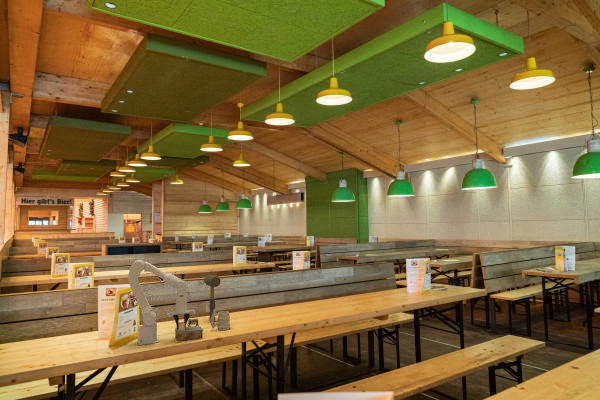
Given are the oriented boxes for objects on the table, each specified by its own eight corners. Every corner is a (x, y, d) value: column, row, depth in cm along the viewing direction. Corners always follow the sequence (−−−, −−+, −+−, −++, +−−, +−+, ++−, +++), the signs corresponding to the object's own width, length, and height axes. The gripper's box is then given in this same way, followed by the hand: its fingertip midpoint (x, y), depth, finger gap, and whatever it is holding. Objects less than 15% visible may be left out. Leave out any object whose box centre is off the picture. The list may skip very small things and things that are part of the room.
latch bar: (191, 324, 219) (191, 322, 219) (188, 321, 228) (188, 319, 228) (196, 324, 220) (196, 322, 220) (193, 320, 229) (193, 318, 229)
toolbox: (177, 341, 203) (177, 327, 204) (173, 334, 218) (173, 321, 218) (202, 338, 209) (202, 324, 210) (197, 331, 223) (197, 318, 224)
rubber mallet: (203, 320, 251) (203, 274, 254) (214, 319, 255) (214, 273, 258) (210, 324, 241) (210, 276, 243) (221, 322, 245) (221, 275, 248)
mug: (231, 329, 227) (231, 308, 228) (212, 332, 222) (212, 311, 223) (228, 326, 234) (228, 306, 235) (209, 329, 229) (209, 308, 230)
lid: (177, 334, 204) (177, 325, 204) (175, 330, 213) (175, 321, 213) (202, 331, 209) (202, 322, 210) (198, 327, 218) (199, 319, 219)
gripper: (168, 305, 204) (168, 331, 203) (196, 303, 210) (196, 328, 209) (166, 303, 210) (166, 328, 209) (193, 301, 216) (193, 325, 215)
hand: (181, 328), depth 209 cm, fingers closed on lid, 3 cm apart
